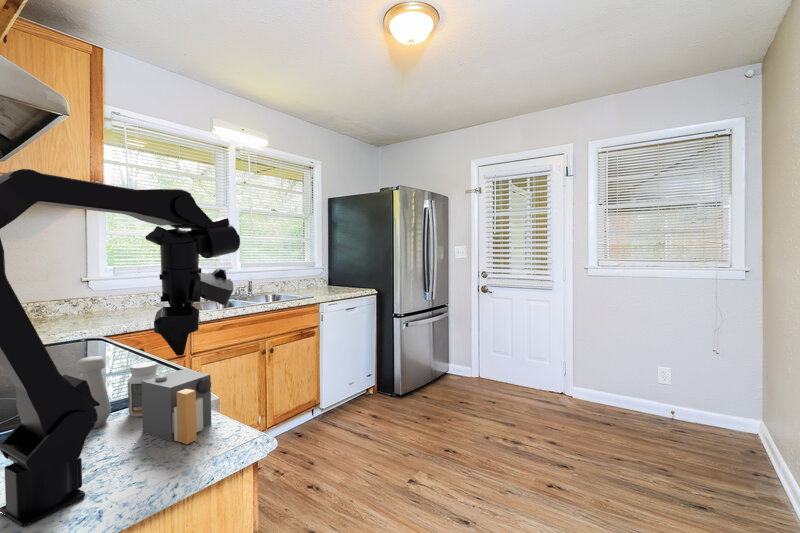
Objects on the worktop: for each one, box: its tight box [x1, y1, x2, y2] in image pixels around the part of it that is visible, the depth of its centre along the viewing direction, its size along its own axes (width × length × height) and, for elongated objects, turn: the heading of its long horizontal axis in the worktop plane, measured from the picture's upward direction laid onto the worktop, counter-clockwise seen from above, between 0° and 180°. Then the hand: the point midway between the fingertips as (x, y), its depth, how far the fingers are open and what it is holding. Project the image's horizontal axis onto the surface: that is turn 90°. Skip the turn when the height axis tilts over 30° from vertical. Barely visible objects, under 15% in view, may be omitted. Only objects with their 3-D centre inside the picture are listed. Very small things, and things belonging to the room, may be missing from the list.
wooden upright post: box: [174, 389, 204, 445], centre depth 68 cm, size 5×3×9 cm, turn 155°
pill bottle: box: [127, 361, 161, 418], centre depth 79 cm, size 6×6×10 cm
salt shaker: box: [76, 355, 112, 430], centre depth 73 cm, size 6×6×13 cm
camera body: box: [141, 369, 212, 442], centre depth 72 cm, size 8×9×10 cm
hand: (182, 341), depth 72 cm, fingers open, 9 cm apart
